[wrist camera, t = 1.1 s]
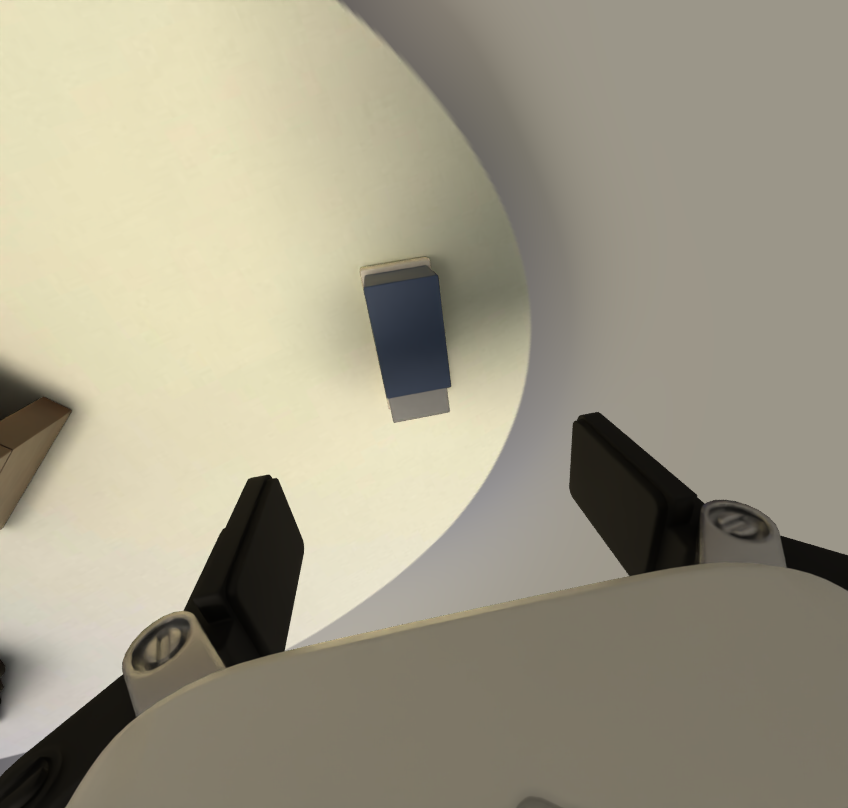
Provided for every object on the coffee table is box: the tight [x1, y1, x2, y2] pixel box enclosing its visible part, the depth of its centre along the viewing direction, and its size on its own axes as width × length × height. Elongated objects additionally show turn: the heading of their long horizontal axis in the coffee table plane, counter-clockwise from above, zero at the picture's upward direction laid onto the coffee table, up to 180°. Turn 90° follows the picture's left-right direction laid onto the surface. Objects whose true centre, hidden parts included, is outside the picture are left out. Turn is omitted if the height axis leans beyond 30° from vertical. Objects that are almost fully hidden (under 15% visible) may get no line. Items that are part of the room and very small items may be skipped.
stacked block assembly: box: [360, 257, 451, 423], centre depth 22 cm, size 9×4×5 cm, turn 8°
